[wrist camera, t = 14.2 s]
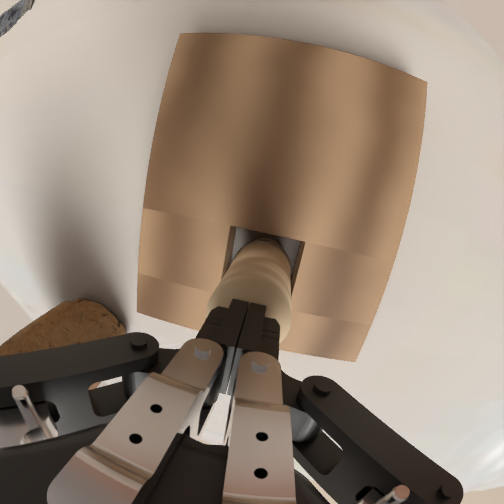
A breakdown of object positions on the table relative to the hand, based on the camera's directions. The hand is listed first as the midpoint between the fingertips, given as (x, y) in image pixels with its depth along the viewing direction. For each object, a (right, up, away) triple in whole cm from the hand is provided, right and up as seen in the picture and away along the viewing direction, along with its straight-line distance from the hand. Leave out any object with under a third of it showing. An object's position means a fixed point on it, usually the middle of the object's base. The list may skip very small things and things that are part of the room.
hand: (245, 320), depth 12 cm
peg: (+1, +3, +10) cm, 10 cm away
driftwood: (-42, +41, +5) cm, 59 cm away
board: (+2, +7, +8) cm, 11 cm away
